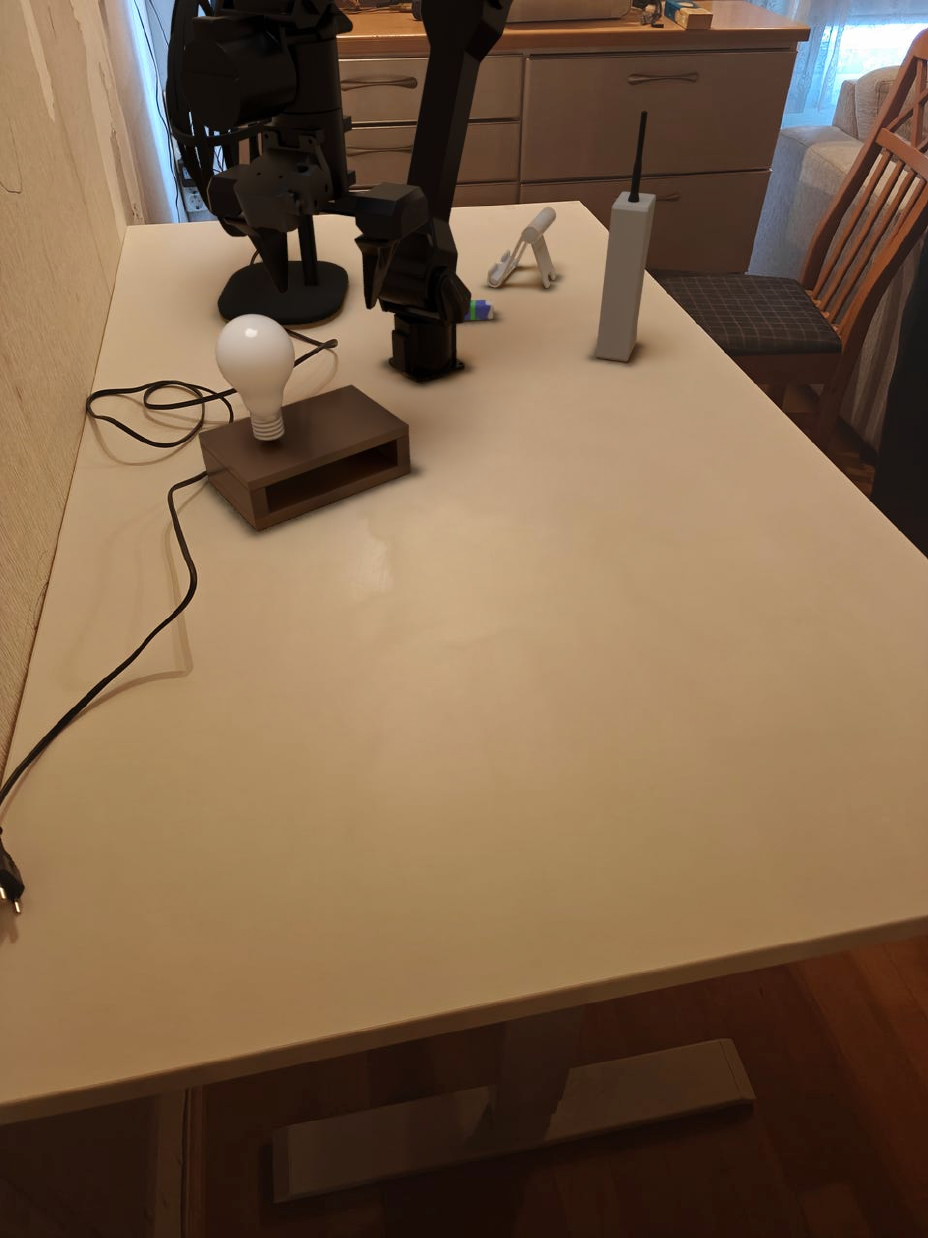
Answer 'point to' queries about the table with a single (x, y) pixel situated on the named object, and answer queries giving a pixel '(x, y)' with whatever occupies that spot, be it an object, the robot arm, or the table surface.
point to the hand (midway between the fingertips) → (326, 299)
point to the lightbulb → (257, 369)
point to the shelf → (307, 456)
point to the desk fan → (251, 287)
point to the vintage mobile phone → (625, 265)
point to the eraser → (480, 310)
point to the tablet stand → (529, 236)
